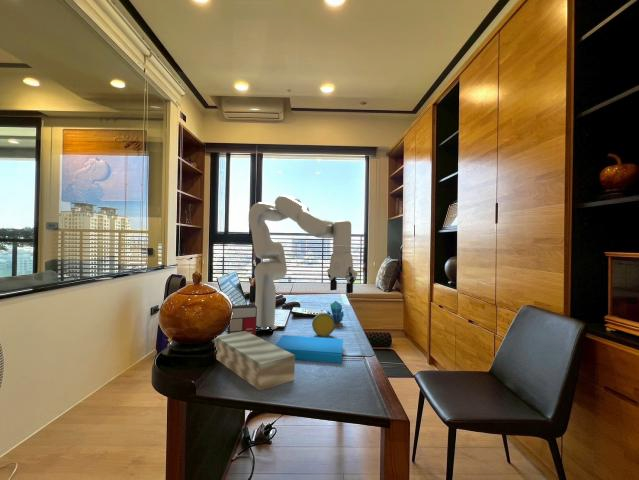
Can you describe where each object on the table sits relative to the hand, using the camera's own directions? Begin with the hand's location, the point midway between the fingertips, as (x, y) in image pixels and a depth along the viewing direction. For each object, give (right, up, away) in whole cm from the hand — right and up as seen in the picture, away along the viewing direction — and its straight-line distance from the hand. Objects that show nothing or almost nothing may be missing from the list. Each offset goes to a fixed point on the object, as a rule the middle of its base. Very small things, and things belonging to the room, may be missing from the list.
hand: (341, 291), depth 132 cm
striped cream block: (-32, -21, -28) cm, 47 cm away
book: (-13, -22, -11) cm, 28 cm away
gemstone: (-1, -22, +30) cm, 37 cm away
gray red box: (-41, -21, -4) cm, 46 cm away
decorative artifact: (-8, -22, +13) cm, 27 cm away
